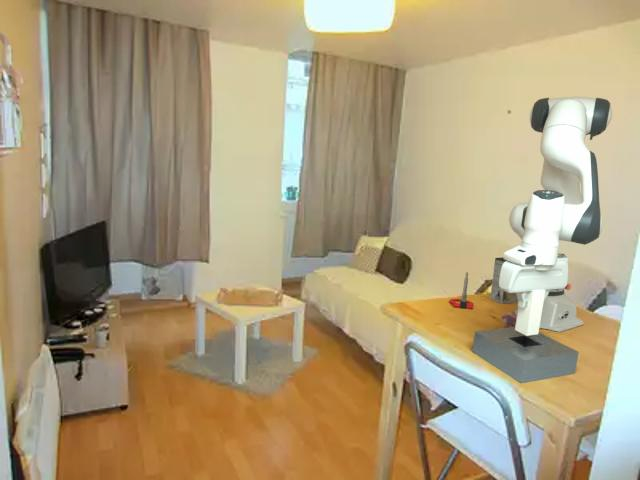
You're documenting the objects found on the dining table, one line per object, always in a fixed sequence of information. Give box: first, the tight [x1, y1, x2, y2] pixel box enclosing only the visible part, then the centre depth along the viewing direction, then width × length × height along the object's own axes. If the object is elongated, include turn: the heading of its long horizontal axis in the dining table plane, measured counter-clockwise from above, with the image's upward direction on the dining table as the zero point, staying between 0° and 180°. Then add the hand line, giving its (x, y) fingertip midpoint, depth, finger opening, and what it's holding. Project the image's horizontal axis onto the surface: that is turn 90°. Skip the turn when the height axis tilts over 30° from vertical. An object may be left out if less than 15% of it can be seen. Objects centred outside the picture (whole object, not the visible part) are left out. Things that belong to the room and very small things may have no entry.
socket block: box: [471, 326, 580, 384], centre depth 128 cm, size 18×18×6 cm
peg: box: [515, 290, 545, 336], centre depth 125 cm, size 4×4×12 cm
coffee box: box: [489, 257, 519, 305], centre depth 179 cm, size 9×6×16 cm
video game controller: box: [501, 312, 517, 328], centre depth 149 cm, size 10×5×7 cm, turn 24°
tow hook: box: [448, 271, 474, 310], centre depth 172 cm, size 8×13×9 cm
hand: (530, 306), depth 125 cm, fingers closed on peg, 4 cm apart
